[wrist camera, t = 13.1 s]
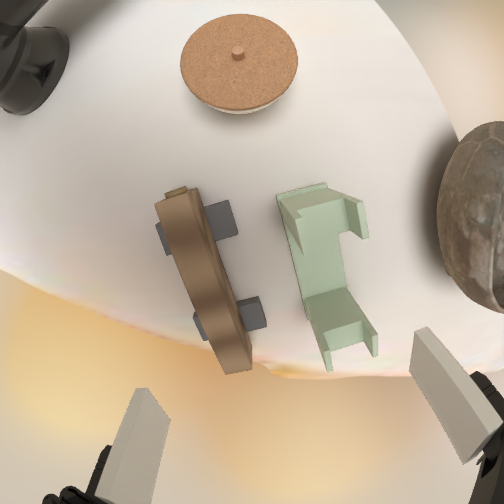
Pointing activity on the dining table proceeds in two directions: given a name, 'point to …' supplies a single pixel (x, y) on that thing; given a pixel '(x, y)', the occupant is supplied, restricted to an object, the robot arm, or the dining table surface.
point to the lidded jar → (239, 63)
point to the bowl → (475, 216)
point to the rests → (221, 229)
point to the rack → (326, 264)
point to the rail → (205, 277)
